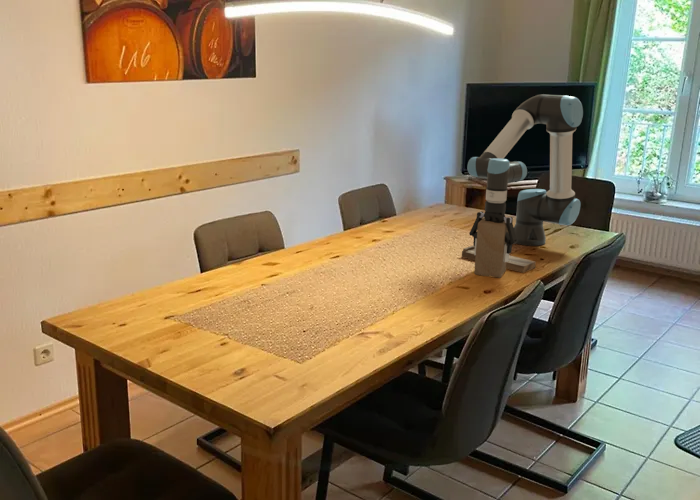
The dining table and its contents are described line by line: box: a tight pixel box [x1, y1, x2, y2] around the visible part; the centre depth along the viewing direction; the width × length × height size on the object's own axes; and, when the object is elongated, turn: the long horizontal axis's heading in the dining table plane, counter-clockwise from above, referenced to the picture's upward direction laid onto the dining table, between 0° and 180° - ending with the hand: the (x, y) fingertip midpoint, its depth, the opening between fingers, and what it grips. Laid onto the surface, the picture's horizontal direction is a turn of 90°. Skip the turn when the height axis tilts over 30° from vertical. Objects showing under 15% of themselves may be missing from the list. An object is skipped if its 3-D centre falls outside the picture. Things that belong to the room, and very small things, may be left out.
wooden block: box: [473, 217, 509, 279], centre depth 257 cm, size 10×10×20 cm
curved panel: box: [461, 245, 537, 273], centre depth 273 cm, size 9×28×4 cm, turn 47°
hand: (491, 258), depth 258 cm, fingers closed on wooden block, 12 cm apart
